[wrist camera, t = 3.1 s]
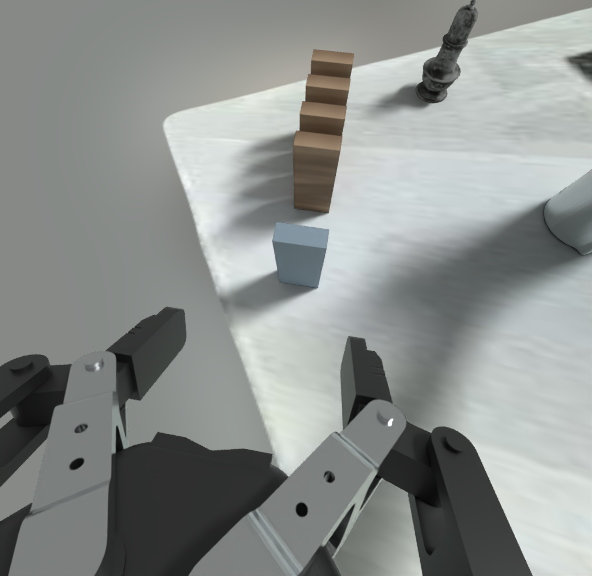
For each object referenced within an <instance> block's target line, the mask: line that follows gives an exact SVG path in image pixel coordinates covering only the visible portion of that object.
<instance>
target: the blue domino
mask: <svg viewBox="0 0 592 576" xmlns="http://www.w3.org/2000/svg"><path fill="white" fill-rule="evenodd" d="M328 234H329V229H322V228H315V227H308V226H300V225H293V224H286V223H279V222H276V226H275V231H274V235H273V240H272V242H273V247H274V253H275V259H276V264H277V270H278V275H279V281H280V282H282V283H289V284H295V285H302V286H308V287H315V288H318V284H319V280H320V275H321V271H322V266H323V262H324V258H325V253H326V249H327V242H328Z"/></svg>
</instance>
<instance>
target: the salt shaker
mask: <svg viewBox="0 0 592 576" xmlns="http://www.w3.org/2000/svg"><path fill="white" fill-rule="evenodd" d="M475 3H476V0H472V1H471V4H470V5H466V6H463V7H461V8H460V9H459V10H458V12H457V14H456V16H455V18H454V20H453V23H452V25H451V27H450V30H449V32H448V33H447V34H446V35H444V37H443V44H442V47H441V49H440V51H439V53H438V55H437V56H436V57H433V58H430V59H429V60H427V61H426V62H425V63H424V66H423V76H422V79H423V82H421V83H419V84H418V85H417V87H416V93H417V95H418V97H419V98H421V99H422V100H424V101H426V102H430V103H437V102H441V101H443V100H444V99H445V98H446V96H447V90H446V89H447V88H448V87H449V86H450V85H451V84H452V83H453V82H454V81H455V80H456V79H457V78H458V77H459V76H460V67H459V65H458V64H457V63H456V62H457V59H458V57H459V55H460V53H461V51H462V49H463V48H464V47H466V45H467V43H468V41H467V38H468V35H469V34H470V32H471V30H472V28H473V26H474V24H475V22H476V19H477V16H478V11H477V9H476V8H475V7H474V4H475Z"/></svg>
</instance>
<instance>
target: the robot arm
mask: <svg viewBox="0 0 592 576" xmlns="http://www.w3.org/2000/svg"><path fill="white" fill-rule="evenodd" d="M544 217H545V221H546V223H547V225H548V227H549V229H550V230H551V231H552V233H553V234H554V235H555V236H556V237H557V238H558V239H560V240H561V241H563V242H564V243H566V244H568V245H570V246H572V247H574V248H576V249H577V250H578V251H579V252H580V253H581V254H582V255H586V254H589V253H591V252H592V170H590V171H589V172H588V173H586V174H585V175H583V176H582V177H580V178H579V179H578V180H576V181H575V182H574V183H572V184H571V185H569V186H568V187H566V188H565V189H563V190H562V191H560V192H559V193H558V194H557V195H555V196H554V197H552V198H551V199H550V200H549V201H548V202H547V204H546V206H545V209H544ZM185 341H186V324H185V313H184V310H183V309H178V308H172V307H165V308H164V309H163V310H162V311H160V312H159V313H158V314H157V315H153V316H150V317H148V318H146V319H144V320H142V321H141V322H140V323H138V324H137V325H136V326H135V328H132V329H131V330H130V331H129V332H128V333H126V334H125V335H124V336H123V337H121V338H120V339H119V340H118V341H117V342H115V343H114V344H113V345H112V346H111V347H109V348H108V349H107V350H106V351H98V352H93V353H90V354H87V355H84V356H83V357H80V358H79V359H77V360H76V361H75V362H74V363H73V364H68V365H52V366H50V363H49V360H48V358H47V357H46V356H44V355H37V354H35V355H27V356H22V357H19V358H16V359H13V360H11V361H9V362H7V363H5V364H4V365H2V366H1V367H0V418H1V417H2V416H3V415H5V414H6V413H7V412H8V411H11V413H12V415H13V417H14V418H13V419H12V420H10V421H9V422H8V423H7V424H6V425H4V426H3V427H2V428H1V429H0V487H1V486H2V485H3V484H4V483H5V482H6V480H7V479H8V478H9V477H10V476H11V475H12V474H13V473H14V472H15V471H16V470H17V469H18V468H19V467H20V466H21V465H22V464H23V463H24V462H25V461H26V460H27V459H28V458H29V456H31V455H32V453H33V452H34V451H35V450H36V449H37V448H38V447H39V446H40V445H41V444H42V443H43V442H44V441H45V440H46V439H47V442H46V447H45V451H44V455H43V460H42V464H41V469H40V473H39V477H38V481H37V486H36V490H35V494H34V499H33V502H32V503H31V504H29V505H27V506H26V507H24V508H22V509H20V510H19V511H17V512H16V513H14V514H12V515H10V516H9V517H7V518H5V519H4V520H2V521H0V576H341V575H340V573H339V571H338V569H337V567H336V565H335V563H334V561H333V559H334V557H335V556H336V554H337V553H338V551H339V549H340V548H341V546H342V545H343V543H344V542H345V540H346V538H347V537H348V535H349V533H350V531H351V529H352V527H353V525H354V524H355V522H356V520H357V518H358V517H359V515H360V513H361V512H362V510H363V509H364V507H365V506H366V504H367V503H368V501H369V499H370V498H371V496H372V495H373V493H374V492H375V490H376V489H377V487H378V485H379V484H380V482H381V481H382V479H384V480H386V481H388V482H390V483H392V484H394V485H395V486H397V487H399V488H401V489H403V490H405V491H406V492H408V497H409V502H410V508H411V513H412V519H413V524H414V530H415V535H416V541H417V546H418V552H419V557H420V563H421V568H422V574H423V576H532V573H531V571H530V569H529V567H528V565H527V562H526V560H525V558H524V556H523V553H522V551H521V549H520V547H519V544H518V542H517V540H516V538H515V536H514V533H513V531H512V529H511V527H510V524H509V522H508V520H507V518H506V516H505V513H504V511H503V509H502V507H501V504H500V502H499V500H498V498H497V495H496V493H495V491H494V489H493V487H492V484H491V482H490V480H489V478H488V475H487V473H486V471H485V469H484V467H483V464H482V462H481V460H480V458H479V455H478V453H477V451H476V449H475V447H474V446H473V444H472V443H471V442H470V441H469V440H468V439H467V438H466V437H465V436H464V435H462V434H461V433H459V432H458V431H456V430H454V429H451V428H448V427H437V428H435V429H434V430H433V431H432V433H430V432H427V431H425V430H423V429H421V428H419V427H416V426H414V425H412V424H410V423H409V422H407V421H406V419H405V416H404V414H403V413H402V412H401V410H400V409H399V408H398V407H396V406H395V405H394V404H393V403H392V399H391V395H390V391H389V387H388V384H387V380H386V377H385V372H384V370H383V364H382V360H381V359H380V357H379V356H378V355H377V353H376V352H375V351H370V350H367V347H366V342H365V339H363V338H357V337H351V336H349V337H348V339H347V343H346V347H345V351H344V355H343V359H342V364H341V396H342V417H343V431H342V432H341V433H340V434H338V433H337V432H333V433H332V434H331V435H330V436H329V437H328V438H327V439H326V440H325V441H324V442H323V443H322V444H321V445H320V446H319V447H318V448H317V449H316V450H315V451H314V452H313V453H312V454H311V455H310V456H309V457H308V458H307V459H306V460H305V461H304V462H303V463H302V464H301V465H300V466H299V467H298V468H297V469H296V470H295V471H294V472H293V473H292V474H291V475H290V476H289V477H288V476H287V475H286V474H285V473H284V472H283V471H282V470H280V469H279V468H277V467H275V466H274V465H272V464H271V462H272V454H269V453H263V452H258V451H253V450H248V449H231V450H215V451H212V450H209V449H207V448H205V447H203V446H201V445H199V444H197V443H195V442H193V441H191V440H189V439H187V438H185V437H181V436H175V435H170V434H165V433H160V432H158V433H157V434H156V436H155V437H154V439H153V440H152V442H146V443H141V444H137V445H134V446H131V447H129V444H128V419H127V418H128V417H127V405H126V401H127V400H128V399H129V398H130V399H134V400H141V399H142V398H143V396H144V395H145V394H146V393H147V392H148V390H149V389H150V388H151V386H152V385H153V384H154V383H155V382H156V380H157V379H158V378H159V377H160V375H161V374H162V373H163V372H164V370H165V369H166V368H167V367H168V365H169V364H170V363H171V362H172V360H173V359H174V358H175V357H176V356H177V354H178V353H179V352H180V351H181V349H182V348H183V346H184V344H185Z"/></svg>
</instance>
